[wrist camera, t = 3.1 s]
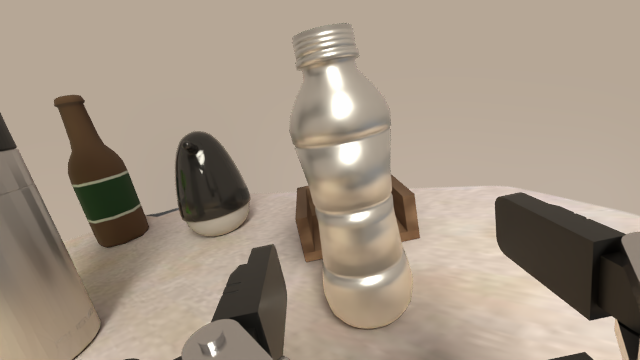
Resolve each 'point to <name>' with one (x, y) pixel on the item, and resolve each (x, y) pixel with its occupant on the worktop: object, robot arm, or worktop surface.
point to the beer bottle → (100, 179)
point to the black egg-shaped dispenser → (209, 186)
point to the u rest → (310, 225)
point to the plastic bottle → (349, 179)
